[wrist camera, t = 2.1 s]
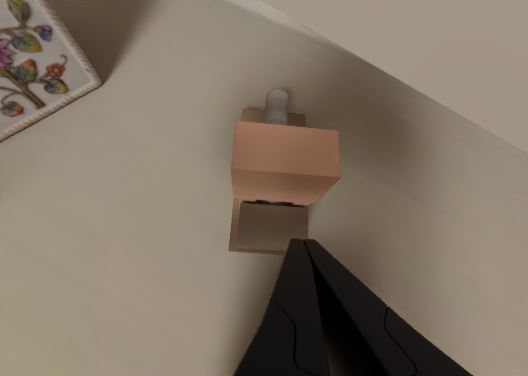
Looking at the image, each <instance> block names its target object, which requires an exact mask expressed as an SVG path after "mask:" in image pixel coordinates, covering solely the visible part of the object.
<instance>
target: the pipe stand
mask: <svg viewBox="0 0 528 376" xmlns="http://www.w3.org/2000/svg"><path fill="white" fill-rule="evenodd" d="M287 111H288V94H287V93H286V92H285V91H284V90H282V89H272V90H270V91H269V92H268V93H267V96H266V111H262V110H252V109H243V112H242V121H244V122H254V123H265V124H275V125H286V126H296V127H305V115H302V114H292V113H287ZM291 238H300V239H302V240H303V239H308V208H300V207H286V202H282V201H269V200H256V201H255V204H247V203H240V208H239V198H234V202H233V212H232V222H231V232H230V242H229V251H233V252H248V253H264V254H280V255H285V254H286V251H287V248H288V245H289V242H290V239H291Z"/></svg>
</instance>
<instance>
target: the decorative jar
mask: <svg viewBox="0 0 528 376" xmlns="http://www.w3.org/2000/svg"><path fill="white" fill-rule="evenodd" d="M101 84H102V83H101V79H100V78H99V76H98V74H97V73H96V71H95V70H94V68H93V67H92V65H91V63H90V62H89V60H88V59H87V57H86V56H85V54H84V52H83V51H82V50H81V48H80V47H79V45H78V44H77V42H76V41H75V39H74V38H73V37H72V35H71V33H70V32H69V31H68V29H67V28H66V27H65V25H64V24H63V22H62V21H61V19H60V18H59V17H58V15H57V14H56V12H55V11H54V9H53V8H52V7H51V5H50V4H49V2H48V1H47V0H0V141H2V140H4V139H6V138H8V137H9V136H11V135H12V134H14V133H17V132H18V131H20V130H22V129H24V128H26V127H28V126H30V125H31V124H33V123H35V122H37V121H39V120H41V119H43V118H44V117H46V116H48V115H50V114H52V113H53V112H55V111H57V110H58V109H60V108H62V107H63V106H65V105H67V104H69V103H70V102H72V101H74V100H76V99H78V98H79V97H81V96H83V95H85V94H87V93H88V92H90V91H92V90H94V89H96V88H98V87H99V86H100V85H101Z"/></svg>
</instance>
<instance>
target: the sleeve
mask: <svg viewBox="0 0 528 376" xmlns="http://www.w3.org/2000/svg"><path fill="white" fill-rule="evenodd" d="M231 173H232V184H233V195H234V198H239V208H240V203H247V204H255V201H256V200H269V201H282V202H286V207H300V208H306V207H307V206H308V205H309V204H315V203H316V202H317V201H318V200H319V199H320V198H321V197H322V196H323V195H324V194H325V193H326V192H327V191H328V190H329V189H330V188H331V187H332V186H333V185H334V184H335V183H336V182H337V181H338V180H339V179H340V178H341V173H340V155H339V137H338V130H328V129H317V128H307V127H296V126H286V125H275V124H265V123H254V122H244V121H236V127H235V137H234V146H233V155H232V164H231Z"/></svg>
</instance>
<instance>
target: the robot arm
mask: <svg viewBox="0 0 528 376" xmlns="http://www.w3.org/2000/svg"><path fill="white" fill-rule="evenodd" d="M233 376H473V375H472V374H470V373H469V372H468V371H466V370H465V369H464V368H463V367H461V366H460V365H459V364H458V363H456V362H455V361H454V360H452V359H451V358H450V357H449V356H447V355H446V354H445V353H444V352H442V351H441V350H440V349H438V348H437V347H436V346H435V345H433V344H432V343H431V342H430V341H428V340H427V339H426V338H425V337H424V336H422V335H421V334H420V333H419V332H417V331H416V330H415V329H414V328H413V327H411V326H410V325H409V324H408V323H407V322H406V321H405V320H403V319H402V318H401V317H400V316H399V315H398V314H397V313H395V312H394V311H393V310H392V309H391V308H390V307H387V305H386V304H385V303H384V302H383V301H382V300H381V299H380V298H379V297H378V296H376V295H375V294H374V293H373V292H372V291H371V290H370V289H369V288H368V287H367V286H365V285H364V284H363V283H362V282H361V281H360V280H359V279H358V278H357V277H355V276H354V275H353V274H352V273H351V272H350V271H349V270H348V269H347V268H345V267H344V266H343V265H342V264H341V263H340V262H339V261H338V260H337V259H335V258H334V257H333V256H332V255H331V254H330V253H329V252H328V251H327V250H325V249H324V248H323V247H322V246H321V245H320V244H319V243H318V242H317V241H315V240H313V239H303V240H302V239H300V238H291V239H290V242H289V245H288V248H287V251H286V254H285V256H284V259H283V262H282V265H281V268H280V271H279V274H278V277H277V279H276V282H275V285H274V288H273V291H272V294H271V297H270V300H269V302H268V305H267V308H266V311H265V313H264V316H263V318H262V321H261V323H260V325H259V327H258V329H257V331H256V333H255V335H254V337H253V340H252V341H251V343H250V345H249V347H248V349H247V351H246V352H245V354H244V356H243V358H242V360H241V362H240V363H239V365H238V367H237V369H236V371H235V373H234V374H233Z"/></svg>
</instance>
